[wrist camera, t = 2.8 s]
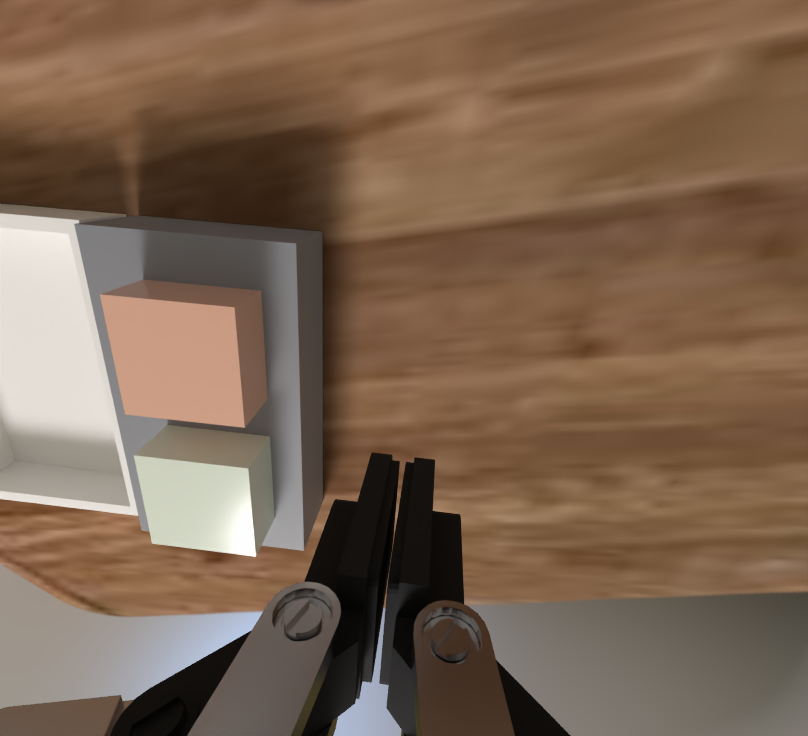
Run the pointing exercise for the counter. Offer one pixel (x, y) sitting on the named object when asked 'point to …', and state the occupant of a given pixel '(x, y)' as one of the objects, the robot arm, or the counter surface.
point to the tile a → (188, 351)
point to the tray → (54, 370)
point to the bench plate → (283, 338)
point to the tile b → (207, 489)
